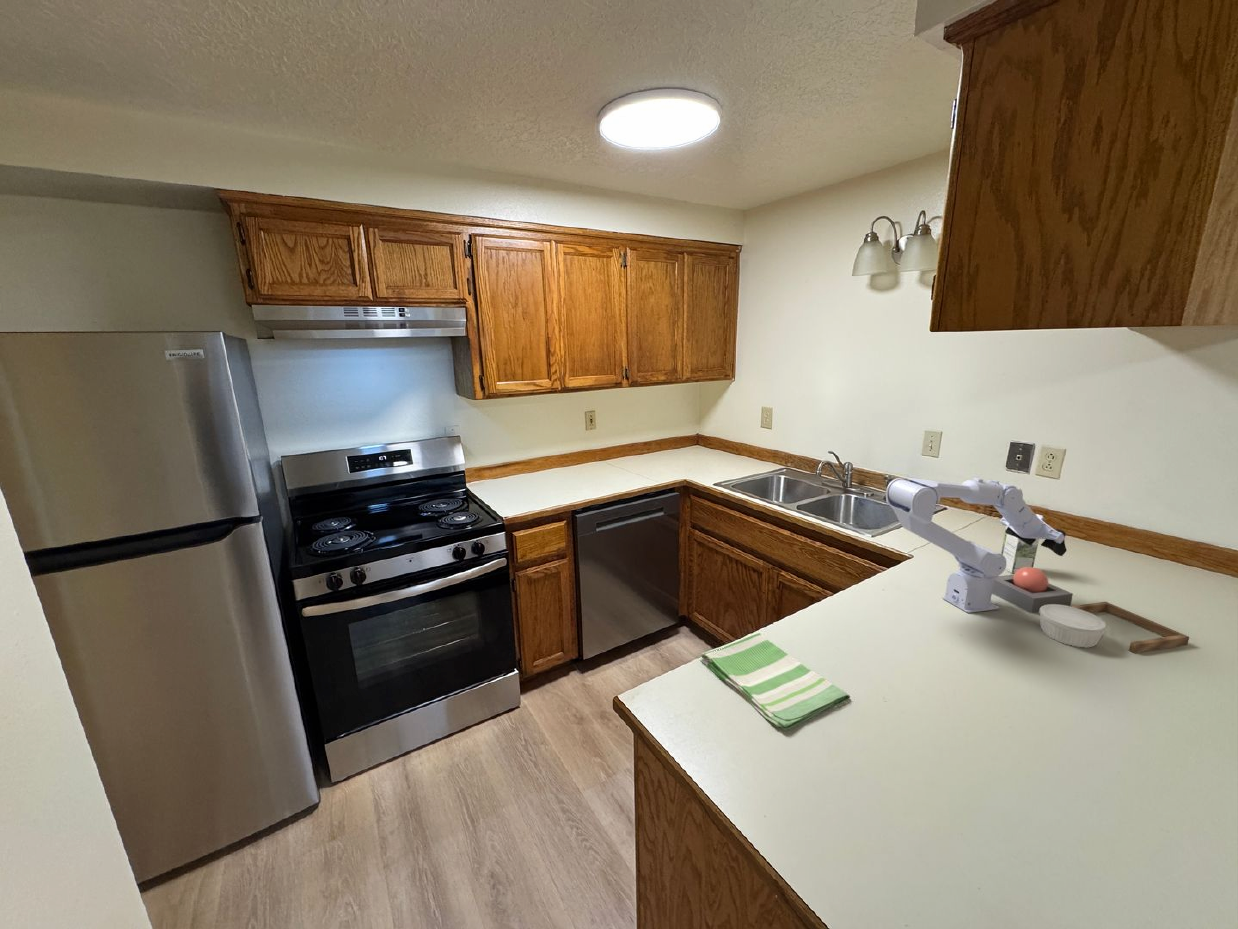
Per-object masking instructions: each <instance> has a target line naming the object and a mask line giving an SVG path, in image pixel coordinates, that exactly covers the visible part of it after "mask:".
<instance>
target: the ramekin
mask: <svg viewBox="0 0 1238 929" xmlns="http://www.w3.org/2000/svg"><path fill="white" fill-rule="evenodd" d="M1070 606H1071V605H1070ZM1070 606H1066V605H1057V604H1049V605H1044V606H1042V607H1041V608H1040V611H1039V612H1038V613H1039V616H1040V628H1041V631H1042V632H1043V633H1044V634H1045V636H1047V637H1049V638H1050V639H1052V638H1053V639H1052V640H1054V639H1055V640H1054V641H1056V642H1058V641H1059V642H1058V643H1061V644H1063V643H1064V645H1066V644H1068V645H1067V646H1070V645H1072V646H1071V647H1074V646H1076V647H1075V648H1080V647H1085V648H1086V649H1088V648H1089V647H1090V648H1092V647H1094V646H1096V645H1098V643H1099V642H1100V640H1101V638H1102V636H1103V634H1104V633H1105V631H1107V630H1106V629H1107V624H1106V622H1105V621H1104V620H1103V619H1102V618H1101V617H1099V616H1098V615H1096V614H1094V613H1089V612H1086V611H1084V610H1081V609H1078V608H1074V607H1070ZM1085 648H1084V649H1085ZM1090 648H1089V649H1090Z"/></svg>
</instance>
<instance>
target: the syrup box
mask: <svg viewBox="0 0 1238 929" xmlns="http://www.w3.org/2000/svg"><path fill="white" fill-rule="evenodd" d="M1007 528H1008V526H1005V530H1006V529H1007ZM1039 541H1040V539H1036V540H1035V542H1034V543H1033V544H1032V545H1028V544H1026V543H1025V542H1023V541H1022V540H1020V539H1018V538H1017V537H1015V536H1012V535H1009V534H1006V533H1005V532H1004V538H1003V543H1002V547H1001V552H1000V554H1002V555H1003V556H1004V557H1005V558H1006V568H1005V570H1004V571H1007V572H1008V573H1010V574H1013V575H1014V574H1015V572H1016V571H1017V570H1018V569H1020V568H1023V567H1033V568H1034V565H1035V561H1036V556H1037V551H1038V547H1039V543H1040V542H1039Z"/></svg>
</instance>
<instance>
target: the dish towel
mask: <svg viewBox="0 0 1238 929" xmlns="http://www.w3.org/2000/svg"><path fill="white" fill-rule="evenodd" d="M723 647H724V648H723ZM721 648H722V649H721ZM719 649H720V650H719ZM716 650H717V651H716ZM714 651H715V652H714ZM701 658H702V659H700V662H701V663H703V664H704V665H706V667H707V668H708V669H709V670H711V671H712V672H713V673H714V674H716V676H717V677H719V678H720V679H721V680H722V681H724V683H726V684H728V685H729V686H730V688H732V689H733V690H734V691H735V692H736V693H737V695H739V696H740V697H742V698H744V699H745V700H746V701H747V702H748V703H749V704H750V705H752V707H753V708H754V709H755V710H756V711H758V712H759V713H760V714H761V715H762V716H763V717H764V718H765V719H766V720H768V721H769V722H771V723H772V724H774V725H775V726H776V727H779V728H781V729H782V730H783V731H787V730H789V729H792V728H794V727H796V726H798V725H799V724H802V723H803V722H805V721H807V720H809V719H810V718H813V717H815V716H816V715H817V714H820V713H821V712H823V711H825V710H826V709H827V708H829V707H831V709H833V708H835V707H837V706H840V705H841V704H844V703H846V702H848V701H849V700H850V698H851V696H850V694H849V693H847V692H846V691H844V690H843V689H841V688H840V687H838V686H837V685H835V684H833V683H831V682H830V681H829V680H827V679H825V678H824V677H822V676H821V675H819V674H817V673H816V672H815V671H813V670H811V669H810V668H808V667H807V666H805V665H804V664H802V663H801V662H799V661H798V660H796V659H795V658H793V657H792V656H791V655H789V654H788V653H787V652H785V651H784V650H783V649H781V647H779V646H777V645H776V644H774V643H773V642H772V641H770V640H769V639H767V638H766V637H764V636H763V635H762V634H761V633H760V632H759V631H758V632H755V633H753V634H750V635H748V636H744V637H742V638H740V639H737V640H735V641H732V642H729V643H726V644H724V645H722V646H719V647H716V648H713V649H711V650H708V651H705V652H702V653H701Z"/></svg>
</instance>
